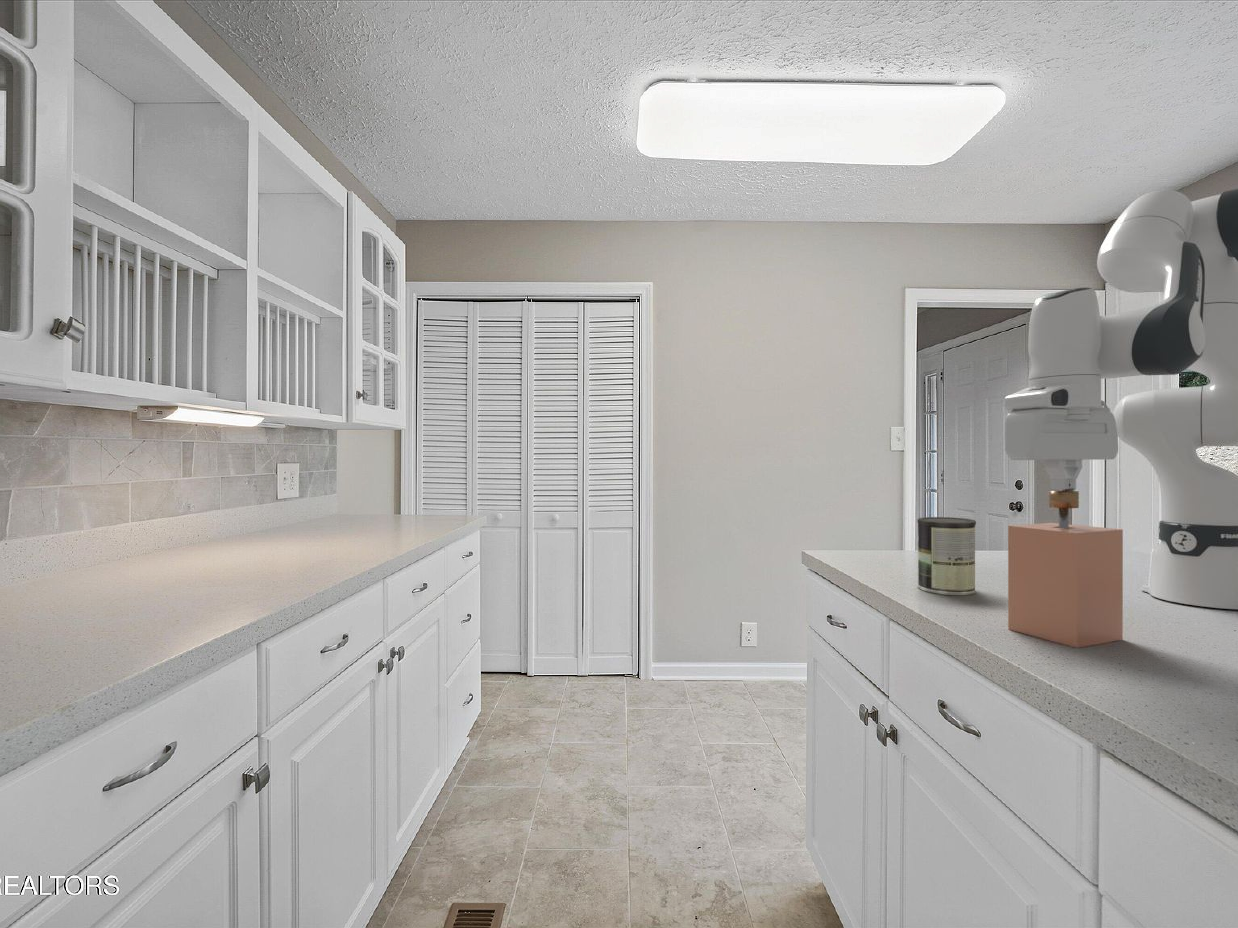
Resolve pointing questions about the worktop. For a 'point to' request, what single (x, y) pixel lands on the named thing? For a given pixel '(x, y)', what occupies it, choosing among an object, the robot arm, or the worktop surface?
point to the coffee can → (946, 555)
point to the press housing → (1066, 583)
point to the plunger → (1064, 504)
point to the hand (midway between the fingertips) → (1063, 490)
